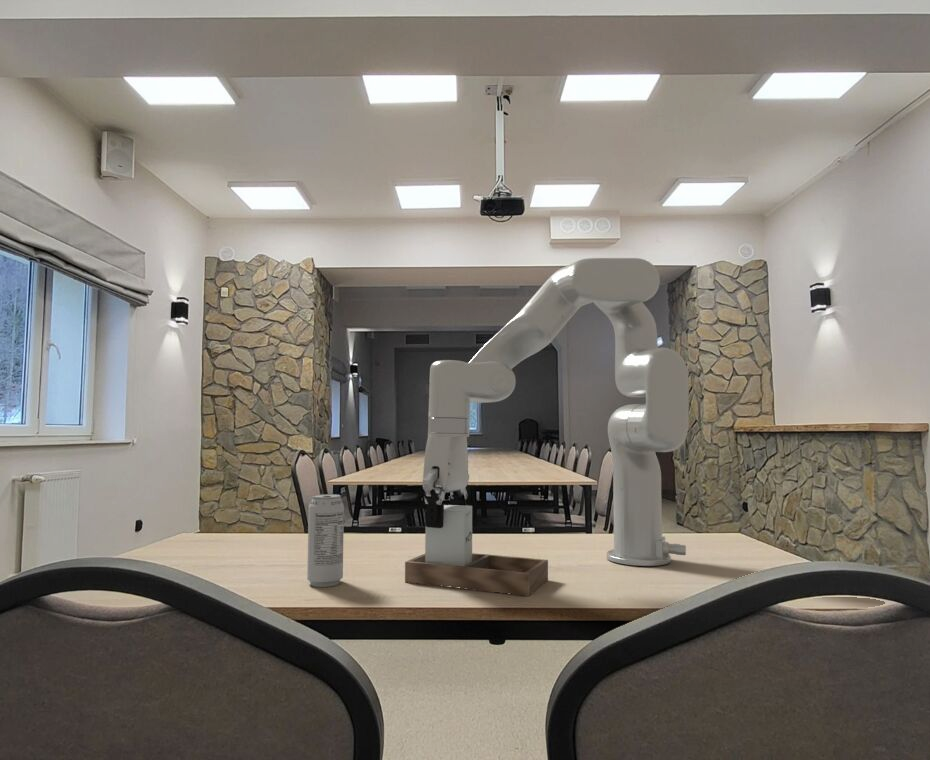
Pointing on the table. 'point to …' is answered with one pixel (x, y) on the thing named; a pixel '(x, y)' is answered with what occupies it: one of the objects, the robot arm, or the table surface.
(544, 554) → the table surface
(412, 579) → the frame
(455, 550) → the supplement box
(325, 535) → the energy drink can
